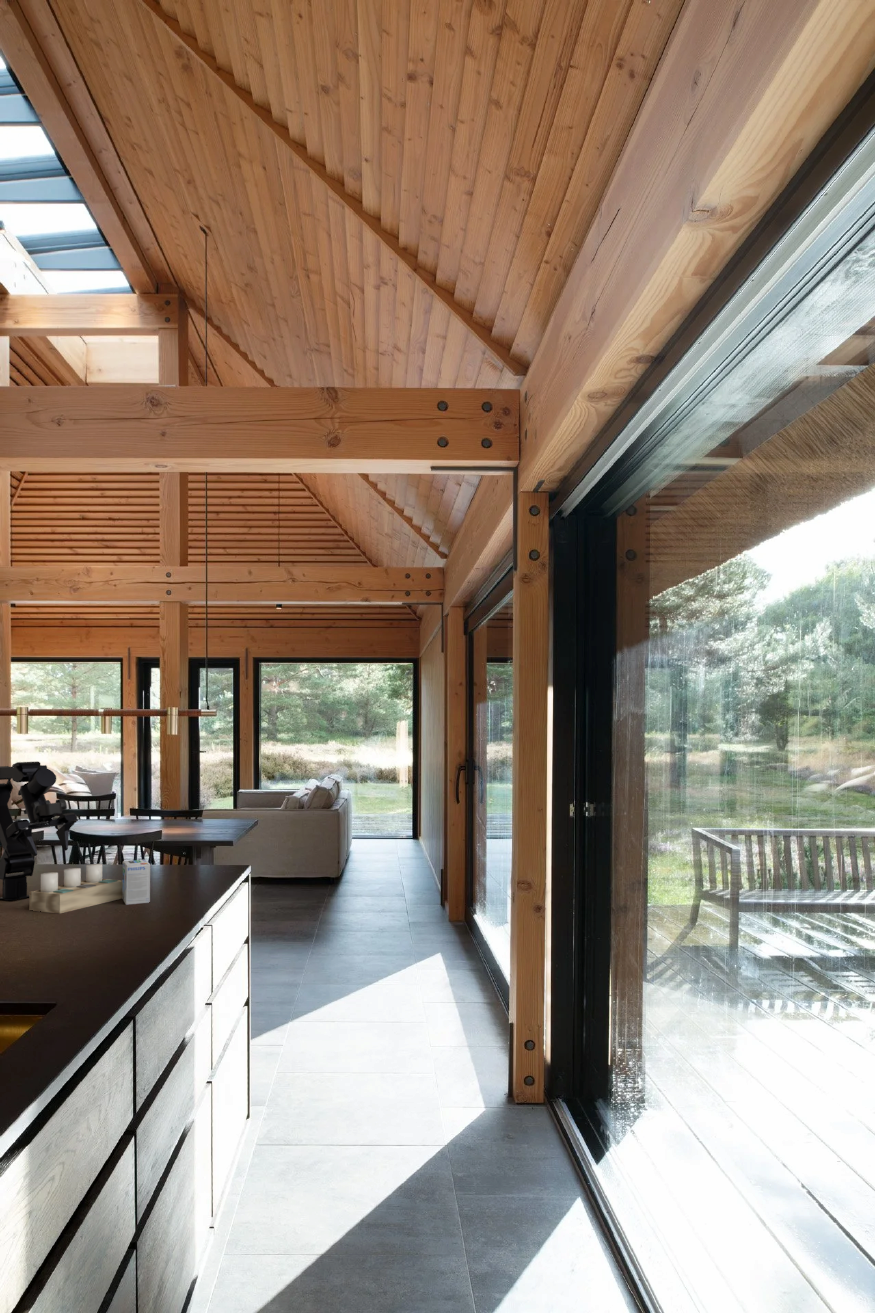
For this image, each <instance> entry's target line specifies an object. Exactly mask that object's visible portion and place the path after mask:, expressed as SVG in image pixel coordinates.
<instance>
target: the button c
mask: <svg viewBox="0 0 875 1313" xmlns="http://www.w3.org/2000/svg"><path fill="white" fill-rule="evenodd" d="M102 879H103V864H102V863H91V864H86V865H85V880H86V882H89V883H96V882H99V881H102Z"/></svg>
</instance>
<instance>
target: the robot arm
mask: <svg viewBox="0 0 875 1313" xmlns="http://www.w3.org/2000/svg"><path fill="white" fill-rule="evenodd" d="M0 780H1V781H4V780H7V782H6V783H4V782H3V783H1V782H0V843H1V846H2V850H3V852H2V855H1V857H0V880H2V889H1V890H2V896H1V897H0V899H5V900H4V901H8V900H15V901H17V900H16V899H19V900H21V899H20V898H24V899H28V898H27V897H29V895H30V894H29V895H28V881H27V877H33V875H34V869H35V863H36V859H35V857H36V856H38V851H37V848H36V844H35V841H34V838H33V830H38V829H45V828H52V827H54V828H55V829H56V831H55V834H56V836H57V838H58V840H59V843H60V844H61V847H62V849H63V850H64V852H66V851H68V849H69V836H70V830H71V828H72V827H73V826H74V825H75V823H77V822H78V821H79V819H78V817H77V814H76V813H74V812H67V813H63V811H65V810H67V809H68V805H67V801H66V799H65V798H59V799H56V800H55V802H51V801H50V800H49V799H46V796H45V794H47V793H48V792H49V791H50V789H51V788H52V787H53V786H54V785H55V784H56V781H57V775H56V774H55V772H54V771H53V770H51V769H49V768H48V765H47V764H45V765H42V764H41V762H40V761H37V760H36V761H22V762H21V761H19V762H17V761H16V762H15V763H13V764H12V765H11V766H8V765H5V766H4V765H3V766H1V765H0ZM12 782H15V783H24V784H23V785H20V788H19V790H18V792H17V793H18V794H17V795H18V796H21V799H22V802H23V804H24V808H25V809H24V810H23V814H24V815H27V818H28V819H26V818H25V819H19V820H14V819H13V817H12V813H11V810H10V807H9V805H8V804H9V801H10V798H11V794H12V792H13V789H14V786H13V784H12ZM57 814H59V815H60V816H59V817H57V818H55V817H56V816H57Z"/></svg>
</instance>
